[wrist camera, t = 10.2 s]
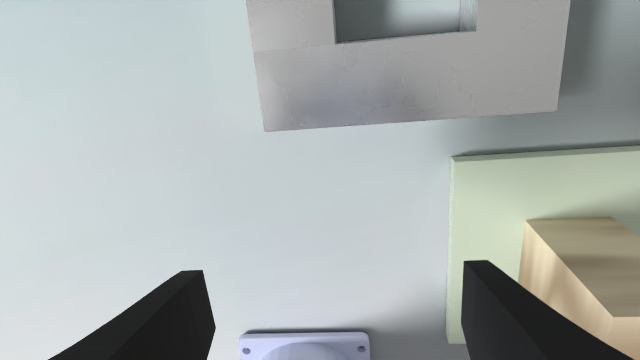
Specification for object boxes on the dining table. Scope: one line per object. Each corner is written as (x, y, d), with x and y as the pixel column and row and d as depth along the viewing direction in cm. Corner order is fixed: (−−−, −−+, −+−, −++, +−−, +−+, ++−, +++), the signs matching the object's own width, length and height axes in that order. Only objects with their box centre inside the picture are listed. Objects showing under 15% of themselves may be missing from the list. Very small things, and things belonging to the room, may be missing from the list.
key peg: (597, 285, 20) (712, 406, 14) (517, 287, 21) (593, 405, 14) (611, 216, 19) (746, 315, 13) (524, 220, 19) (612, 317, 13)
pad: (645, 330, 22) (655, 340, 21) (445, 333, 23) (448, 344, 22) (693, 141, 18) (708, 146, 18) (450, 157, 19) (454, 162, 19)
